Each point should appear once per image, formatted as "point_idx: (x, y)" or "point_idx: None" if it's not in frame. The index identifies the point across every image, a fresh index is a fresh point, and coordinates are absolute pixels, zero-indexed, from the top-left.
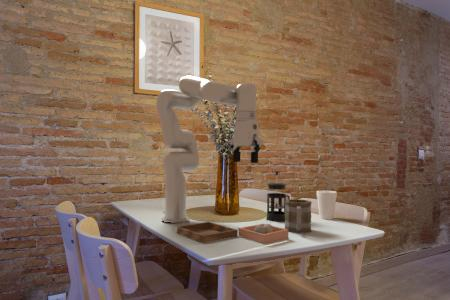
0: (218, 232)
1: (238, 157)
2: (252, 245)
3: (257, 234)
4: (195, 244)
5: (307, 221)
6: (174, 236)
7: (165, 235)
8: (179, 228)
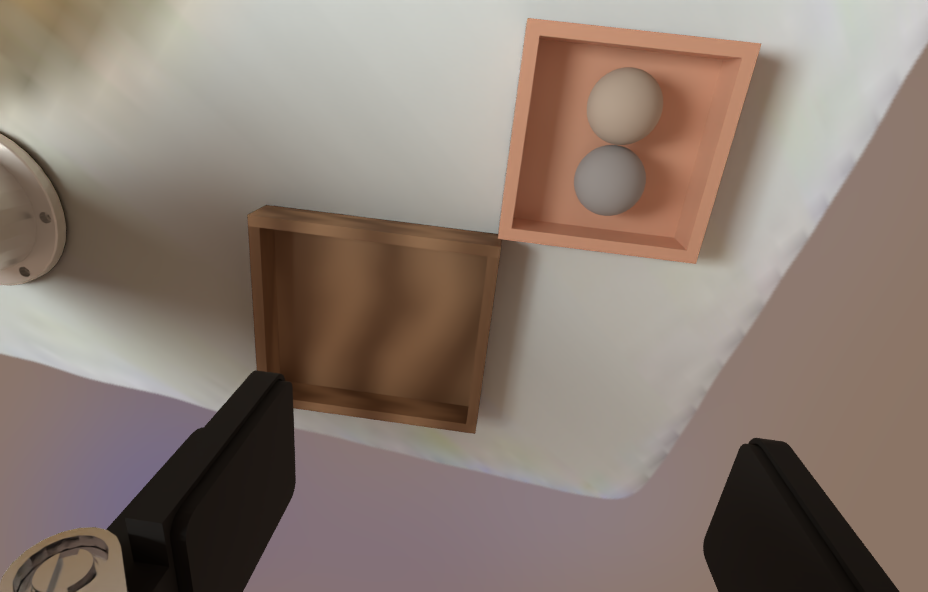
0: (380, 250)
1: (261, 472)
2: (639, 285)
3: (647, 255)
4: None
5: None
6: None
7: None
8: None
